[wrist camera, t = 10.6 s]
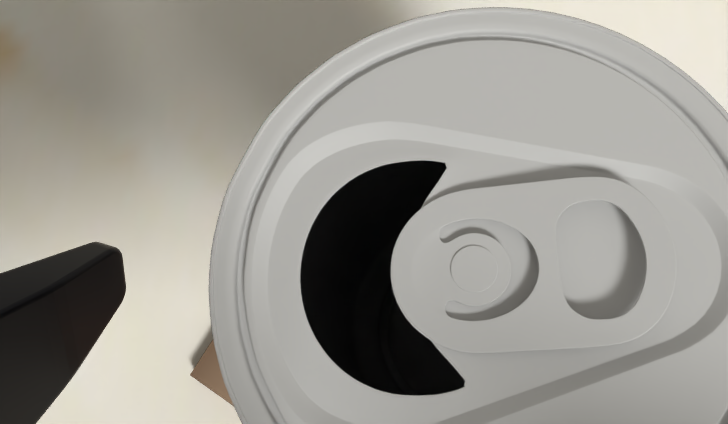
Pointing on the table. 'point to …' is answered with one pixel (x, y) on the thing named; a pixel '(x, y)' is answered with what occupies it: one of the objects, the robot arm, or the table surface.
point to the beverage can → (480, 234)
